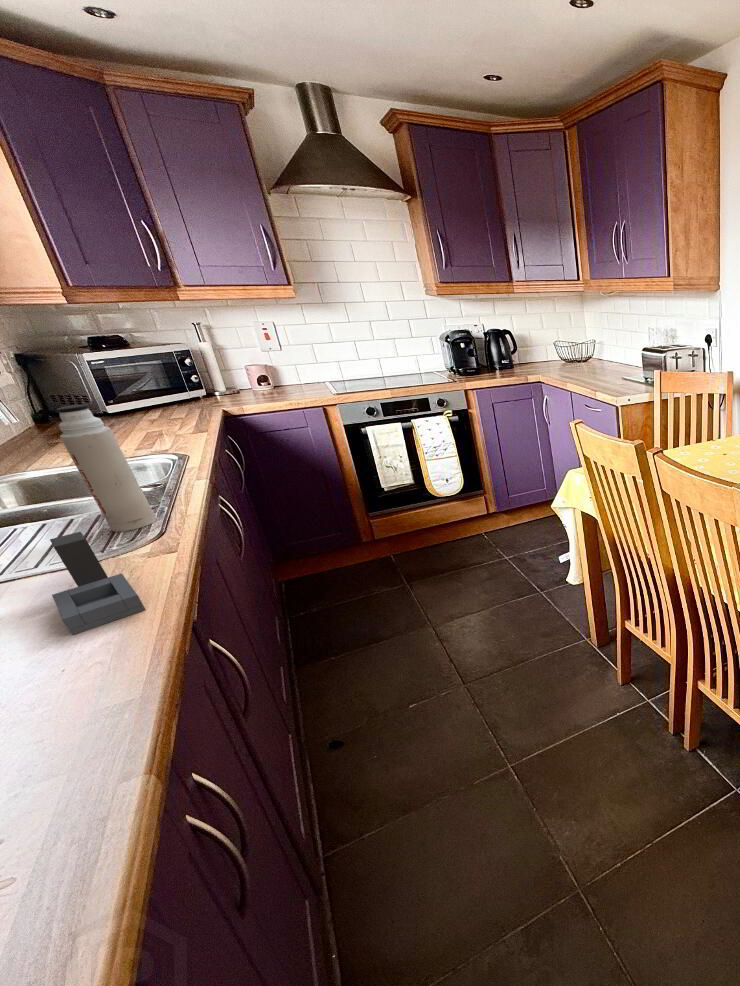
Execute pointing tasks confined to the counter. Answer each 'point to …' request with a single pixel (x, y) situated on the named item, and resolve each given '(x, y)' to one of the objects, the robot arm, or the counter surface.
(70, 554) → the dark grey rectangular block
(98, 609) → the slotted base pad
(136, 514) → the thermos bottle
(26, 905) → the counter surface
